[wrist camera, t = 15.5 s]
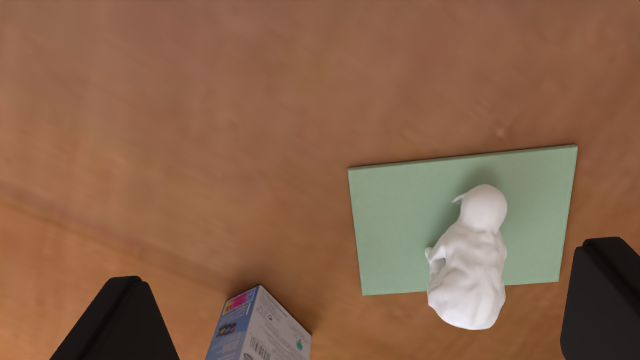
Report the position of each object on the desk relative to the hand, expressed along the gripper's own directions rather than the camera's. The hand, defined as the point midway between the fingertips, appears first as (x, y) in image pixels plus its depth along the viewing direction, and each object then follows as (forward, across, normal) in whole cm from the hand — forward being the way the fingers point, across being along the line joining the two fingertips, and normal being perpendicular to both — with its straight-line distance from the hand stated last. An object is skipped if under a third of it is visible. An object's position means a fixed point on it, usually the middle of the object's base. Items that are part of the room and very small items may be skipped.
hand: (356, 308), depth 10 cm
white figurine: (+28, -9, +17) cm, 34 cm away
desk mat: (+28, -9, +18) cm, 34 cm away
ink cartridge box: (+28, +12, +28) cm, 42 cm away
